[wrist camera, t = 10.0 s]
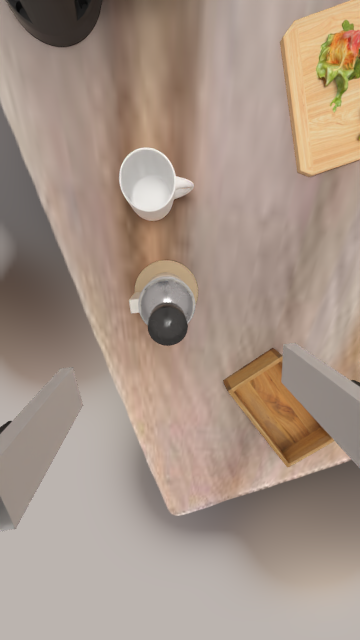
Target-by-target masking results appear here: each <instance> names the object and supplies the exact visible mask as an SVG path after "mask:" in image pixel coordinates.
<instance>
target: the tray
mask: <svg viewBox="0 0 360 640" xmlns="http://www.w3.org/2000/svg"><path fill="white" fill-rule="evenodd" d="M282 362H283V356H282V355H281V354H280V353H279V352H277V351H276V350H275V349H273V348H272V349H270V350H269V351H267V352H266V353H264V354H262V355H261V356H259V357H258V358H256V359H255V360H253V361H252V362H250V363H249V364H247V365H246V366H244V367H243V368H241V369H240V370H238V371H237V372H235V373H234V374H232V375H231V376H229V377H228V378H226V379H225V380H223V381H224V384H225V386H226V389H227V391H228V392H229V393H230V395H231V396H232V397H233V399H234V400H235V401H236V402H237V404H238V405H239V406H240V408H241V409H242V410H243V411H244V413H245V414H246V415H247V417H248V418H249V419H250V420H251V422H252V423H253V424H254V425H255V427H256V428H257V429H258V431H259V432H260V433H261V434H262V436H263V437H264V438H265V439H266V441H267V442H268V443H269V445H270V446H271V447H272V448H273V450H274V451H275V452H276V454H277V455H278V456H279V457H280V459H281V460H282V461H283V462H284V464H285V465H286V466H287V467H290V466H292V465H293V464H295V463H297V462H299V461H300V460H302V459H304V458H306V457H307V456H309V455H311V454H313V453H314V452H316V451H318V450H320V449H321V448H323V447H325V446H327V445H328V444H330V443H332V442H333V441H334V439H333V438H332V437H331V436H330V435H329V434H328V433H327V432H326V431H325V430H324V428H323V427H322V426H321V425H320V424H319V423H318V422H317V421H316V420H315V419H314V418H313V416H312V415H311V414H310V413H309V412H308V411H307V410H306V409H305V408H304V407H303V405H302V404H301V403H300V402H299V401H298V400H297V399H296V398H295V397H294V396H293V394H292V393H291V392H290V391H289V390H288V389H287V388H286V387H285V386H284V385H283V384H282V382H281V380H282Z"/></svg>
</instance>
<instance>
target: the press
mask: <svg viewBox="0 0 360 640" xmlns="http://www.w3.org/2000/svg"><path fill="white" fill-rule="evenodd" d="M163 280H171V281H175V282H178V283H179V284H181V285H183V286H184V287H185V288H186V289H187V290H188V292H189V294H190V295H191V298H192V301H193V312H192V315H191V317H190V319H189V321H190V320H191V318H192V317H193V314H194V311H195V304H196V302H197V298H198V286H197V282H196V280H195V277H194V276H193V274H192V273H191V272H190V270H189V269H188V268H186V267H185V266H184V265H182V264H180V263H178V262H175V261H171V260H161V261H157V262H154V263H152V264H150V265H149V266H147V267H146V268H145V269H144V270H143V271H142V272H141V273H140V275H139V276H138V278H137V280H136V284H135V291H134V294H133V296H132V297H131V298H130V299H129V304H130V310H131V313H140V315H141V317H142V319H143V321H144V322H145V323H146V324H147V325H148V323H147V322H146V321H145V319H144V318H143V315H142V312H141V300H142V297H143V295H144V293H145V291H146V290H147V289H148V288H149V287H150V286H151V285H153V284H154V283H156V282H159V281H163ZM189 321H188V322H187V324H188V323H189Z"/></svg>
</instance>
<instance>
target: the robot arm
mask: <svg viewBox="0 0 360 640" xmlns="http://www.w3.org/2000/svg"><path fill="white" fill-rule="evenodd" d="M6 2H7V3H8V5H9V7H10V8H11V10H12V11H13V13H14V15H15V16H16V18H17V19H18V20H19V22H20V23H21V24H22V25H23V27H24V28H25V29H26V30H27V31H28V32H29V33H31V34H32V35H33V36H34V37H36V38H37V39H39V40H41V41H43V42H45V43H47V44H50V45H54V46H69V45H73V44H75V43H78V42H79V41H81V40H82V39H84V38H85V37H86V36H87V35H88V34H89V33H90V31H91V30H92V28H93V27H94V25H95V23H96V21H97V18H98V15H99V12H100V8H101V0H6ZM281 382H282V384H283V385H284V386H285V387H286V388H287V389H288V390H289V391H290V392H291V393H292V394H293V396H294V397H295V398H296V399H297V400H298V401H299V402H300V403H301V404H302V405H303V407H304V408H305V409H306V410H307V411H308V412H309V413H310V414H311V415H312V416H313V418H314V419H315V420H316V421H317V422H318V423H319V424H320V425H321V426H322V427H323V428H324V430H325V431H326V432H327V433H328V434H329V435H330V436H331V437H332V438H333V439H334V441H335V442H336V443H337V444H338V445H339V446H340V447H341V448H342V449H343V450H344V451H345V453H346V454H347V455H348V456H349V457H350V458H351V459H352V460H353V461H354V462H355V463H356V465H357V466H358V467H359V468H360V383H359V382H357V381H355V380H349V379H348V378H346V377H345V376H343V375H342V374H340V373H339V372H337V371H336V370H334V369H333V368H331V367H330V366H328V365H327V364H325V363H324V362H323V361H321V360H320V359H318V358H317V357H315V356H314V355H312V354H311V353H309V352H308V351H306V350H305V349H303V348H302V347H300V346H299V345H297V344H296V343H291V344H283V362H282V380H281ZM82 406H83V404H82V400H81V396H80V392H79V389H78V384H77V380H76V377H75V373H74V369H73V367H72V368H63V369H60V370H59V371H58V372H57V373H56V374H55V375H54V376H53V377H52V378H51V380H50V381H49V382H48V383H47V384H46V385H45V386H44V387H43V388H42V389H41V390H40V391H39V393H38V394H37V395H36V396H35V397H34V398H33V399H32V400H31V401H30V402H29V403H28V405H27V406H26V407H25V408H24V409H23V410H22V411H21V412H20V413H19V414H18V416H16V418H15V419H14V420H13V421H8V422H7V423H6V424H4V425H3V426H1V427H0V531H4V530H12V529H16V527H17V525H18V524H19V522H20V520H21V518H22V516H23V514H24V513H25V511H26V509H27V507H28V505H29V503H30V501H31V500H32V498H33V496H34V494H35V492H36V490H37V489H38V487H39V485H40V483H41V481H42V479H43V478H44V476H45V474H46V472H47V470H48V468H49V467H50V465H51V463H52V461H53V459H54V457H55V456H56V454H57V452H58V450H59V448H60V446H61V445H62V443H63V441H64V439H65V437H66V435H67V434H68V432H69V430H70V428H71V426H72V424H73V423H74V421H75V419H76V417H77V415H78V413H79V412H80V410H81V408H82Z"/></svg>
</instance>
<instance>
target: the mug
mask: <svg viewBox="0 0 360 640" xmlns="http://www.w3.org/2000/svg"><path fill="white" fill-rule="evenodd" d="M119 183H120V188H121V191H122V193H123V195H124V197H125V198H126V200H127V201H128V203H129V204H130V206H131V207H132V208H133V210H134V211H135V212H136V213H137V215H139V216H140V217H141V218H143V219H145V220H149V221H156V220H160V219H162V218H164V217H165V216H166V215H167V214H168V213H169V211H170V210H171V208H172V205H173V201H174V199H177V198H179V197H182V196H184V195H186V194H187V193H189V192H190V191H191V190H192V189H193V187H194V184H193V183H192V182H191V181H190V180H188V179H185V178H181V177H178V176H175V171H174V168H173V166H172V164H171V162H170V161H169V159H168V158H167V157H166V156H165V155H164V154H163V153H161V152H160V151H158V150H156V149H153V148H139V149H136V150H134V151H132V152H131V153H130V154H129V155H128V156H127V157H126V158H125V159H124V161H123V163H122V165H121V168H120V173H119ZM186 187H190V188H186ZM181 188H186V189H181Z"/></svg>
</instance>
